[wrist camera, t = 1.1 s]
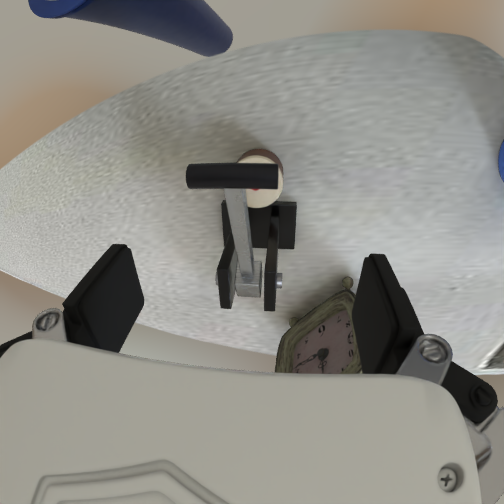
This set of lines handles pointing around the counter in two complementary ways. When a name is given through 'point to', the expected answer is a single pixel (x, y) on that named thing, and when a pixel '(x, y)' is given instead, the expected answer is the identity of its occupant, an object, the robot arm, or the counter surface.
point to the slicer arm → (238, 210)
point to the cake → (262, 196)
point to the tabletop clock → (322, 339)
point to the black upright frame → (262, 236)
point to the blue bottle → (501, 161)
